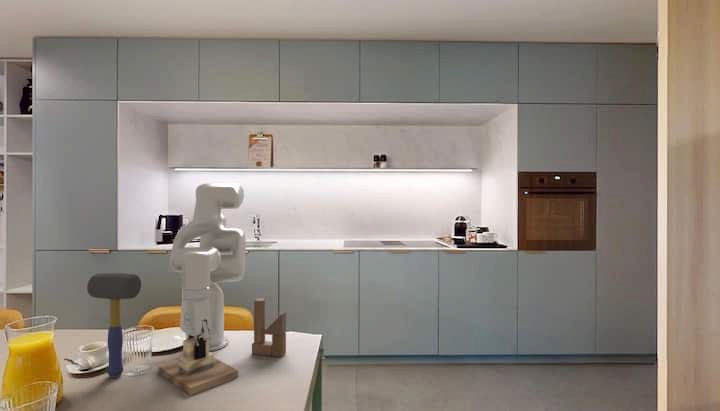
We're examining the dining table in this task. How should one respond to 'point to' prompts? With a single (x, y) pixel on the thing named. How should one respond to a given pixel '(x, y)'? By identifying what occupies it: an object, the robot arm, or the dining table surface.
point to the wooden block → (268, 332)
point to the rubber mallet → (114, 310)
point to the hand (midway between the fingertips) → (196, 355)
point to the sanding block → (189, 363)
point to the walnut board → (198, 376)
